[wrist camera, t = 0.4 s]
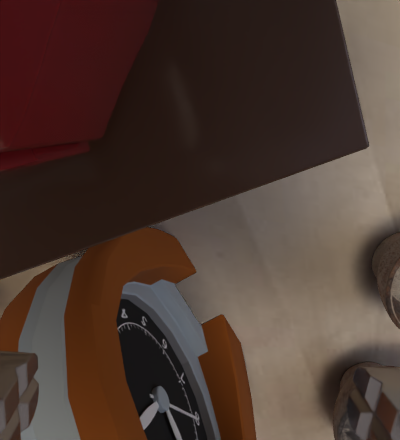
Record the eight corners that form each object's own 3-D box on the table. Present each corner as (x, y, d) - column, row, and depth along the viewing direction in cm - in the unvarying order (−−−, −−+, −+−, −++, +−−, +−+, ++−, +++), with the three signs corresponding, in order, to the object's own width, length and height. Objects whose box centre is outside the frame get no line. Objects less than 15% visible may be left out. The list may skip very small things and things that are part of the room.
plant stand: (34, 39, 29) (-1045, -584, 4) (173, -16, 28) (51, -1254, 3) (95, 178, 32) (-260, 373, 7) (222, 131, 31) (371, 147, 6)
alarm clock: (260, 376, 37) (364, 725, 16) (179, 416, 38) (170, 800, 16) (151, 196, 32) (75, 343, 10) (60, 248, 33) (-185, 483, 11)
